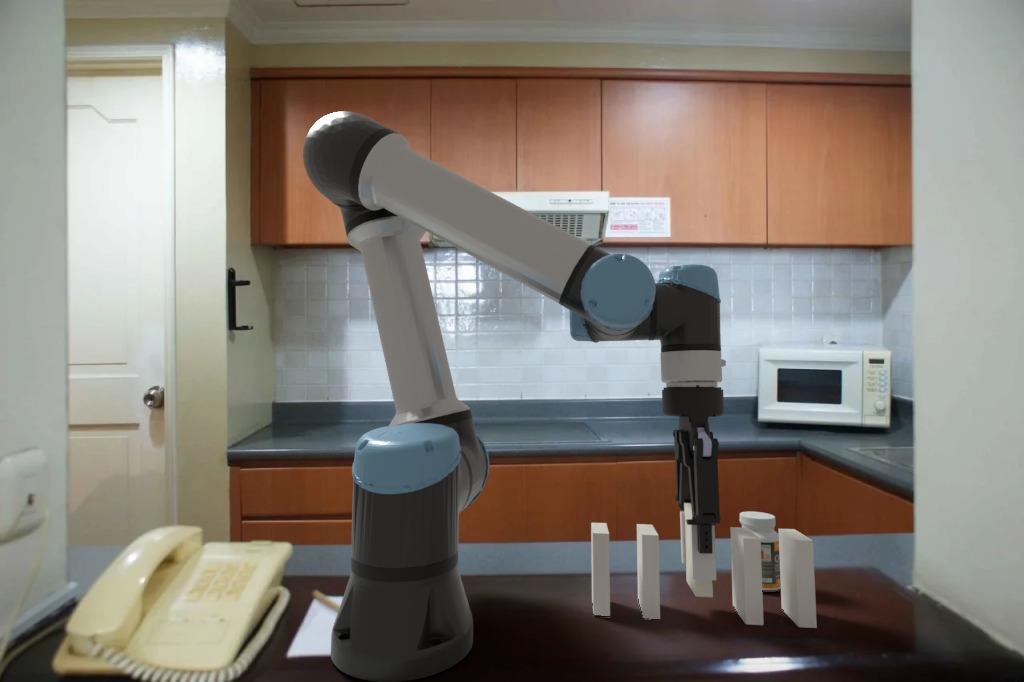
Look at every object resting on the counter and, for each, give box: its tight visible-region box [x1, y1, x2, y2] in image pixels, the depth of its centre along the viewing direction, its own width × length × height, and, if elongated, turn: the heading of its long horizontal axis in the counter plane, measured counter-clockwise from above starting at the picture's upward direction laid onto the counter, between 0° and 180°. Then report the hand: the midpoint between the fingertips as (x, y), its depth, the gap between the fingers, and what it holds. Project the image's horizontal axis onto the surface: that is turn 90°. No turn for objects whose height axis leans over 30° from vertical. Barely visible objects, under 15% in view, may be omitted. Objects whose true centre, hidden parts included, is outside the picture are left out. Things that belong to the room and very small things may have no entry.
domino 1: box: [590, 522, 611, 617], centre depth 67 cm, size 2×5×10 cm, turn 174°
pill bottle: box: [739, 510, 781, 590], centre depth 74 cm, size 6×6×10 cm
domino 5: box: [778, 528, 818, 629], centre depth 64 cm, size 2×5×10 cm, turn 174°
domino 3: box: [684, 503, 714, 598], centre depth 65 cm, size 2×5×10 cm, turn 174°
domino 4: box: [730, 526, 765, 626], centre depth 65 cm, size 2×5×10 cm, turn 174°
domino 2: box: [636, 523, 661, 620], centre depth 66 cm, size 2×5×10 cm, turn 174°
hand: (698, 570), depth 65 cm, fingers closed on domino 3, 5 cm apart
